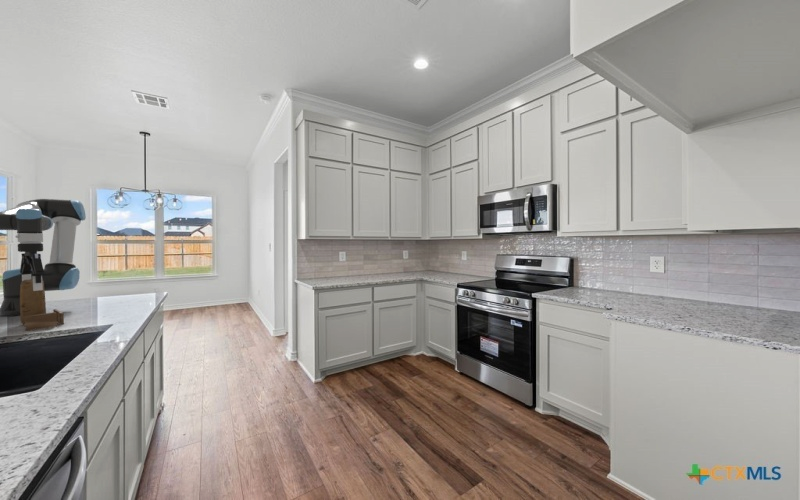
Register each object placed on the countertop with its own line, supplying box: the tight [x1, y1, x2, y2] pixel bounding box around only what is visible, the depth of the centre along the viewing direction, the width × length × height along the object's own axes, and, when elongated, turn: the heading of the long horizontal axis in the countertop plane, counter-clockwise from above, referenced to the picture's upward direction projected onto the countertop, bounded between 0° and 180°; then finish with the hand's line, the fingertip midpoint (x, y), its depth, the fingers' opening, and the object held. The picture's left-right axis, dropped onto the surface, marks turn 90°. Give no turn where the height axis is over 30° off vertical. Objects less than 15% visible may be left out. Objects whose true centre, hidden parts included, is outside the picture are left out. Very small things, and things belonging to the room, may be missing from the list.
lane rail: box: [52, 308, 65, 325], centre depth 146 cm, size 14×1×5 cm, turn 57°
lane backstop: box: [24, 312, 58, 332], centre depth 136 cm, size 1×9×6 cm, turn 147°
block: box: [19, 279, 47, 326], centre depth 144 cm, size 11×8×20 cm
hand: (32, 289), depth 143 cm, fingers open, 13 cm apart
